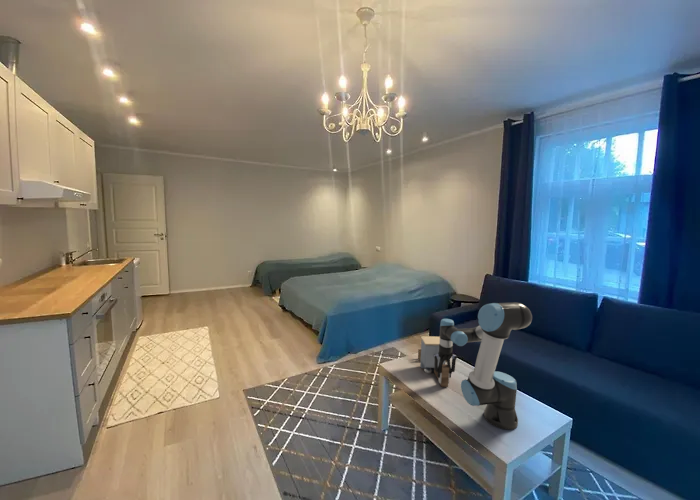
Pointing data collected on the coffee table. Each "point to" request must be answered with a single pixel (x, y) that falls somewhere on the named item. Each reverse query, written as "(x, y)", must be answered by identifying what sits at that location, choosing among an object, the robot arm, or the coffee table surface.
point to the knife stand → (420, 355)
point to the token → (427, 370)
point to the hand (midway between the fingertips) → (443, 382)
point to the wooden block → (444, 375)
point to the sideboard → (429, 351)
